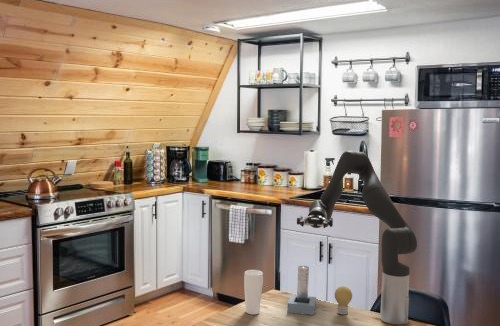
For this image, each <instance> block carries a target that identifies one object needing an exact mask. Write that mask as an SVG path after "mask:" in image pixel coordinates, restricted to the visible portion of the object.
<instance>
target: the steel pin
mask: <svg viewBox="0 0 500 326" xmlns="http://www.w3.org/2000/svg"><path fill="white" fill-rule="evenodd" d="M309 273H310V267H309V266H308V265H307V266H306V265H299V266H298V267H297V283H296V284H297V286H296V287H297V288H296V295H297V302H300V303H308V296H309Z"/></svg>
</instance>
